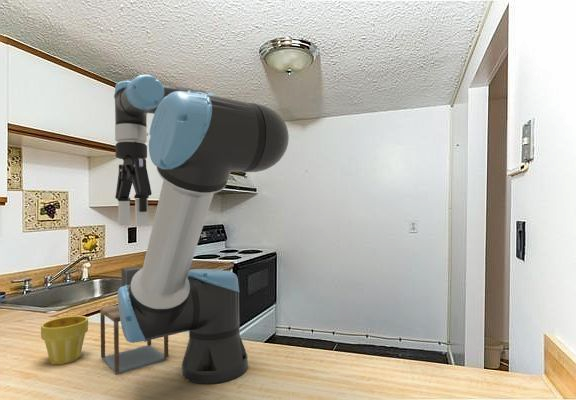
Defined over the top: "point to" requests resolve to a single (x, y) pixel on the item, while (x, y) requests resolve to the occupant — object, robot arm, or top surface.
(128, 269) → the brown legged piece
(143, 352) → the mat
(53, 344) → the plant pot
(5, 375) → the top surface
